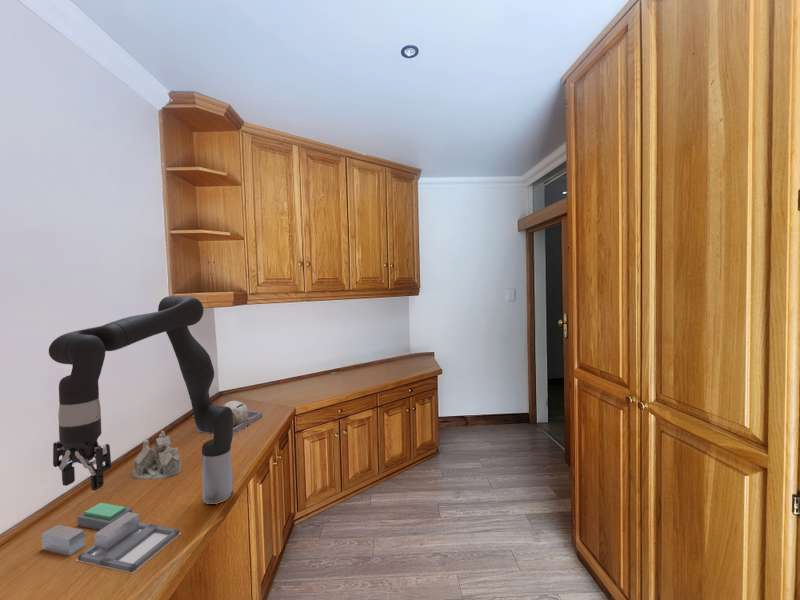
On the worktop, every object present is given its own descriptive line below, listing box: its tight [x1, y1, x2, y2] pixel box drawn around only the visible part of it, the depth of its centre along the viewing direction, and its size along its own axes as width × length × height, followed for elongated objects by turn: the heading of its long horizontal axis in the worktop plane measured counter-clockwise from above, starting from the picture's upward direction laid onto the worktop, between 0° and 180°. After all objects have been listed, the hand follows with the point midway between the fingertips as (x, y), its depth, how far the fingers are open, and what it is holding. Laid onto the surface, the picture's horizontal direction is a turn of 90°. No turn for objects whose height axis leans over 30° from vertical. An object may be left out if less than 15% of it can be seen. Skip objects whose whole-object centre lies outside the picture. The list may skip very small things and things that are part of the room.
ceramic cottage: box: [131, 430, 182, 480], centre depth 150 cm, size 16×16×15 cm
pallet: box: [75, 521, 182, 574], centre depth 107 cm, size 16×19×2 cm
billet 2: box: [94, 512, 140, 557], centre depth 108 cm, size 10×4×6 cm, turn 167°
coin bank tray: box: [195, 410, 263, 435], centre depth 201 cm, size 27×20×2 cm
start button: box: [84, 502, 126, 521], centre depth 118 cm, size 5×10×2 cm, turn 77°
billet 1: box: [41, 524, 86, 556], centre depth 106 cm, size 4×10×6 cm, turn 77°
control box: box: [77, 506, 133, 531], centre depth 118 cm, size 7×12×4 cm, turn 77°
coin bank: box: [222, 400, 250, 428], centre depth 200 cm, size 16×17×13 cm
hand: (82, 486), depth 88 cm, fingers open, 8 cm apart
